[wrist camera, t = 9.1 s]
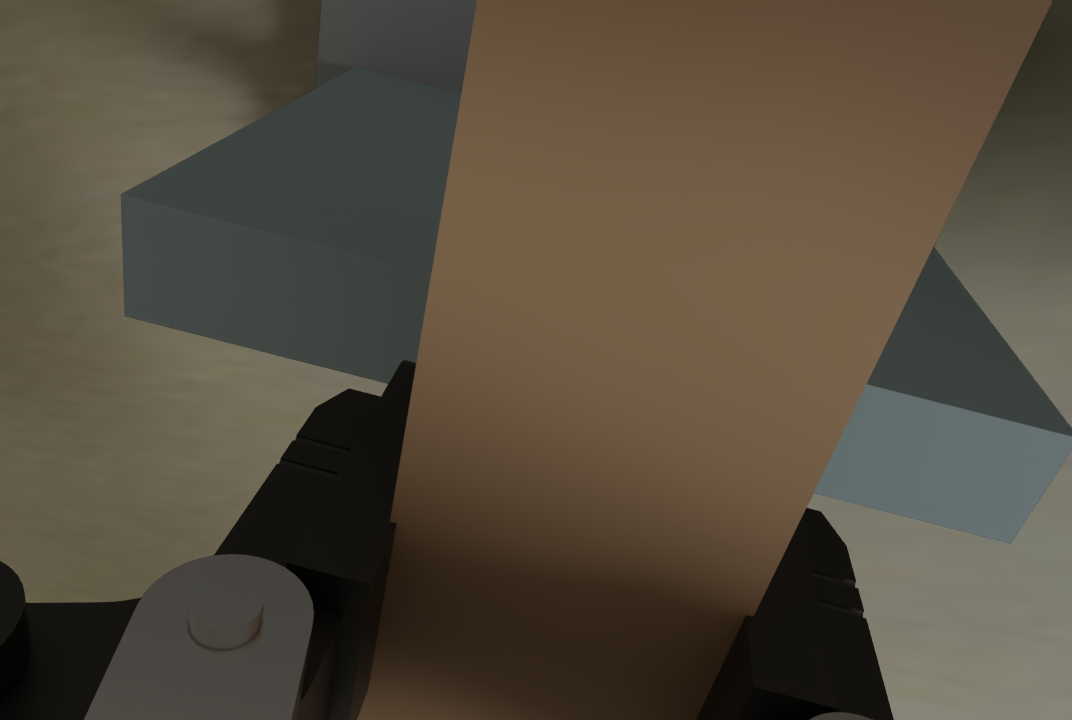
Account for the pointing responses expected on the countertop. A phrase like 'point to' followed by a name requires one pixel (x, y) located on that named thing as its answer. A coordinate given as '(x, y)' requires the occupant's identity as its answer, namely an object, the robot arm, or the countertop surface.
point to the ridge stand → (408, 253)
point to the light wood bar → (658, 328)
